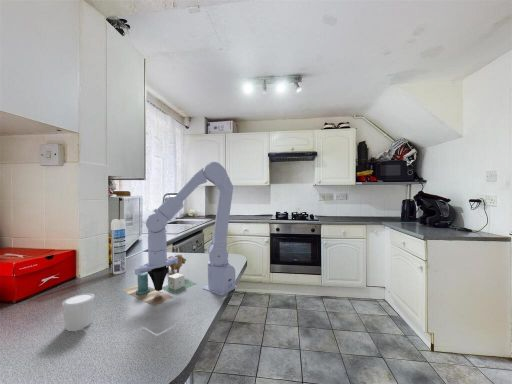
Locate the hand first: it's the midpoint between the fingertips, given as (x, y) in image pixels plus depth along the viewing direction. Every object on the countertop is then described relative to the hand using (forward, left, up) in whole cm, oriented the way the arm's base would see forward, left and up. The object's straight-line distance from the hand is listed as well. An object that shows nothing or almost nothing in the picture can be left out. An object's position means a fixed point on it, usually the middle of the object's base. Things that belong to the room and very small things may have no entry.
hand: (158, 289), depth 80 cm
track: (+3, +2, -2) cm, 4 cm away
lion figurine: (+13, -15, -2) cm, 20 cm away
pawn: (+6, +2, -1) cm, 6 cm away
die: (0, -7, -1) cm, 7 cm away
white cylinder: (+1, +22, -2) cm, 22 cm away
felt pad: (0, -8, -2) cm, 8 cm away
